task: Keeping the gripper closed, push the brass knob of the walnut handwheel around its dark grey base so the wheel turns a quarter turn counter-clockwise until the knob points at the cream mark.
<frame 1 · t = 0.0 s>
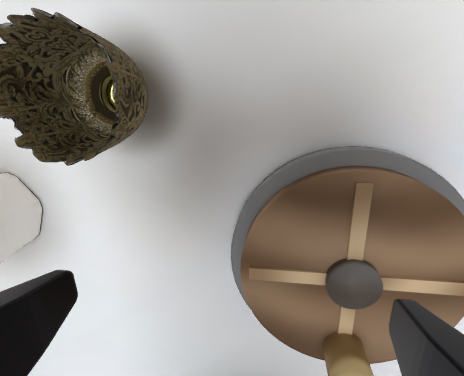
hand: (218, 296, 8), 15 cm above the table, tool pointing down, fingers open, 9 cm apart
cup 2: (129, 94, 21), on the table
wheel base: (341, 254, 22), on the table
handwheel: (357, 293, 18), point 5 cm above the table, hinge at 0.0°
cup: (12, 206, 27), on the table
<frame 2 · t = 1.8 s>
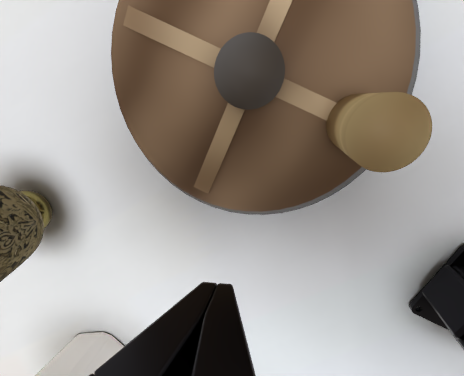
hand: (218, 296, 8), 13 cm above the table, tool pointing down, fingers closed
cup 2: (39, 206, 24), on the table
wheel base: (255, 78, 18), on the table
handwheel: (247, 71, 13), point 5 cm above the table, hinge at 0.0°
cup: (104, 355, 29), on the table
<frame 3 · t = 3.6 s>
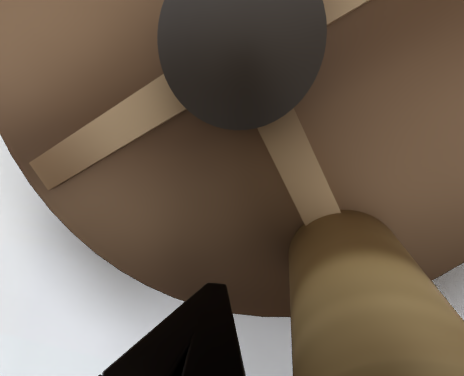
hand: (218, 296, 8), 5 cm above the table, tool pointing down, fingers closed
handwheel: (232, 37, 5), point 5 cm above the table, hinge at 1.2°, touching gripper
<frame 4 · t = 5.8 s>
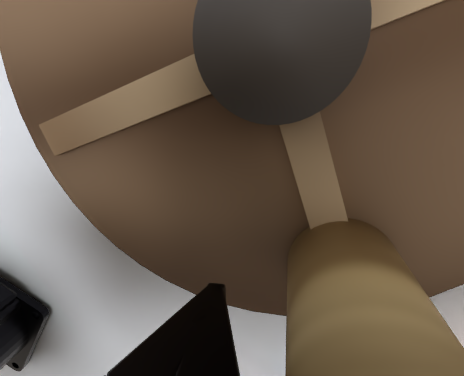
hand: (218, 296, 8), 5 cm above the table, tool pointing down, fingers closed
handwheel: (274, 28, 5), point 5 cm above the table, hinge at 51.8°, touching gripper
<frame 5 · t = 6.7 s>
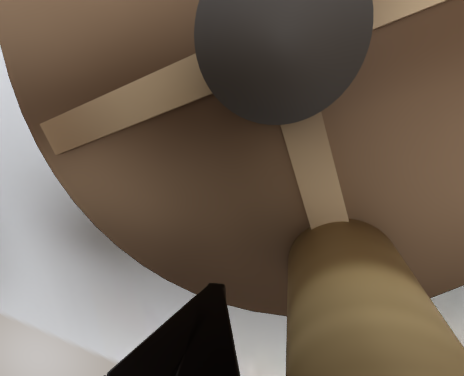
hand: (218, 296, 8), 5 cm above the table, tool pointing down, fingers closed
handwheel: (276, 28, 5), point 5 cm above the table, hinge at 74.0°, touching gripper
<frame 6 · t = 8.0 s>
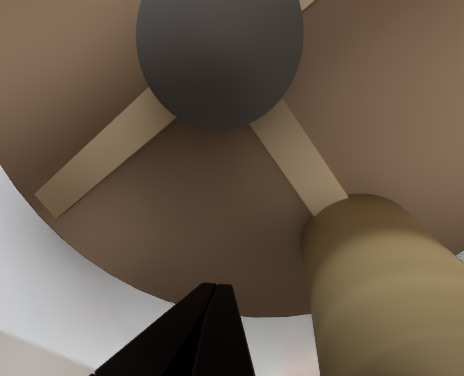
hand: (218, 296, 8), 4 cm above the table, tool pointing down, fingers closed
handwheel: (208, 37, 5), point 5 cm above the table, hinge at 93.2°
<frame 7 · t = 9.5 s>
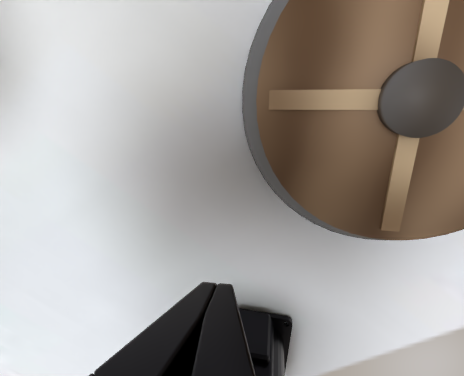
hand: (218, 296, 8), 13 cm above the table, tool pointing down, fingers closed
wheel base: (389, 98, 17), on the table
handwheel: (430, 99, 12), point 5 cm above the table, hinge at 93.2°
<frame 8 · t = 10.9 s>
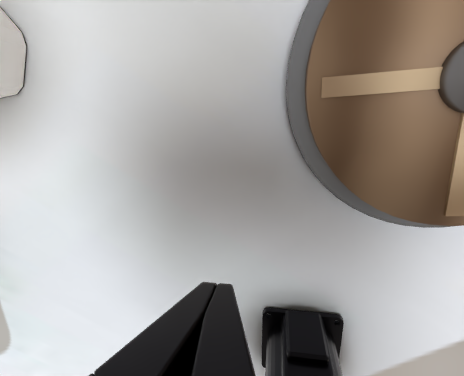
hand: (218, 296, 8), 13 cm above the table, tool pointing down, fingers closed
wheel base: (440, 79, 16), on the table
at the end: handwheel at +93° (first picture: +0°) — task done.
